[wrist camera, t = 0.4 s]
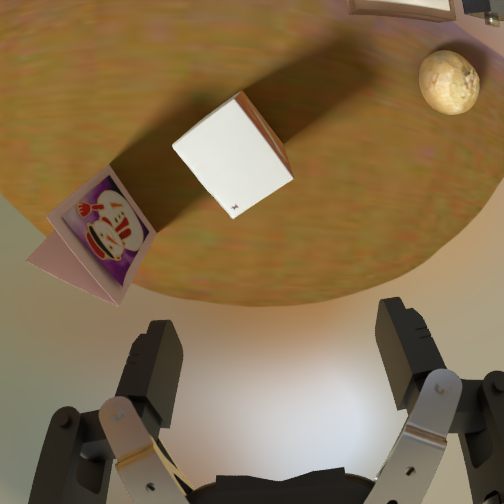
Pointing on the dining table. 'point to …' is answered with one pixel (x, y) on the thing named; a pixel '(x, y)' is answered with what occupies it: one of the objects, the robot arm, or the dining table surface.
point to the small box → (235, 155)
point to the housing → (485, 10)
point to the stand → (405, 9)
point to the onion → (448, 82)
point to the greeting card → (96, 239)
